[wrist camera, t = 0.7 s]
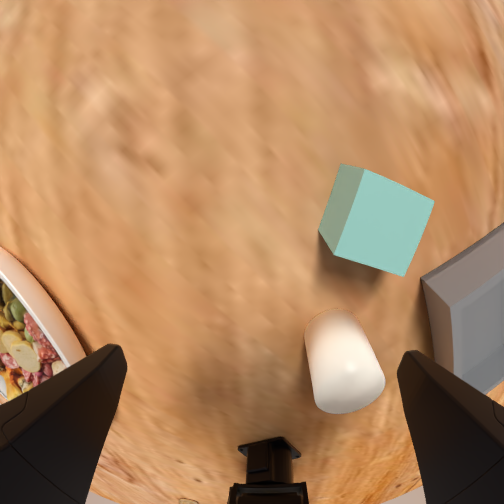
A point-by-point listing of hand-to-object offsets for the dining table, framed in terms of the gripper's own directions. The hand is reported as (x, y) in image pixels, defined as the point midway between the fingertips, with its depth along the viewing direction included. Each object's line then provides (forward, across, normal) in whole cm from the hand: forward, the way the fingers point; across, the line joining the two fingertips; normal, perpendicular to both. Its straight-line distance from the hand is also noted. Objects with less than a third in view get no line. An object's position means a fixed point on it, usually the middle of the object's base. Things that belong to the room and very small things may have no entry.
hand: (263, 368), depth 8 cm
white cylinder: (+13, -6, +9) cm, 17 cm away
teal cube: (+13, -7, -2) cm, 15 cm away
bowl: (+14, +32, +14) cm, 38 cm away
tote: (+13, -24, +8) cm, 28 cm away
